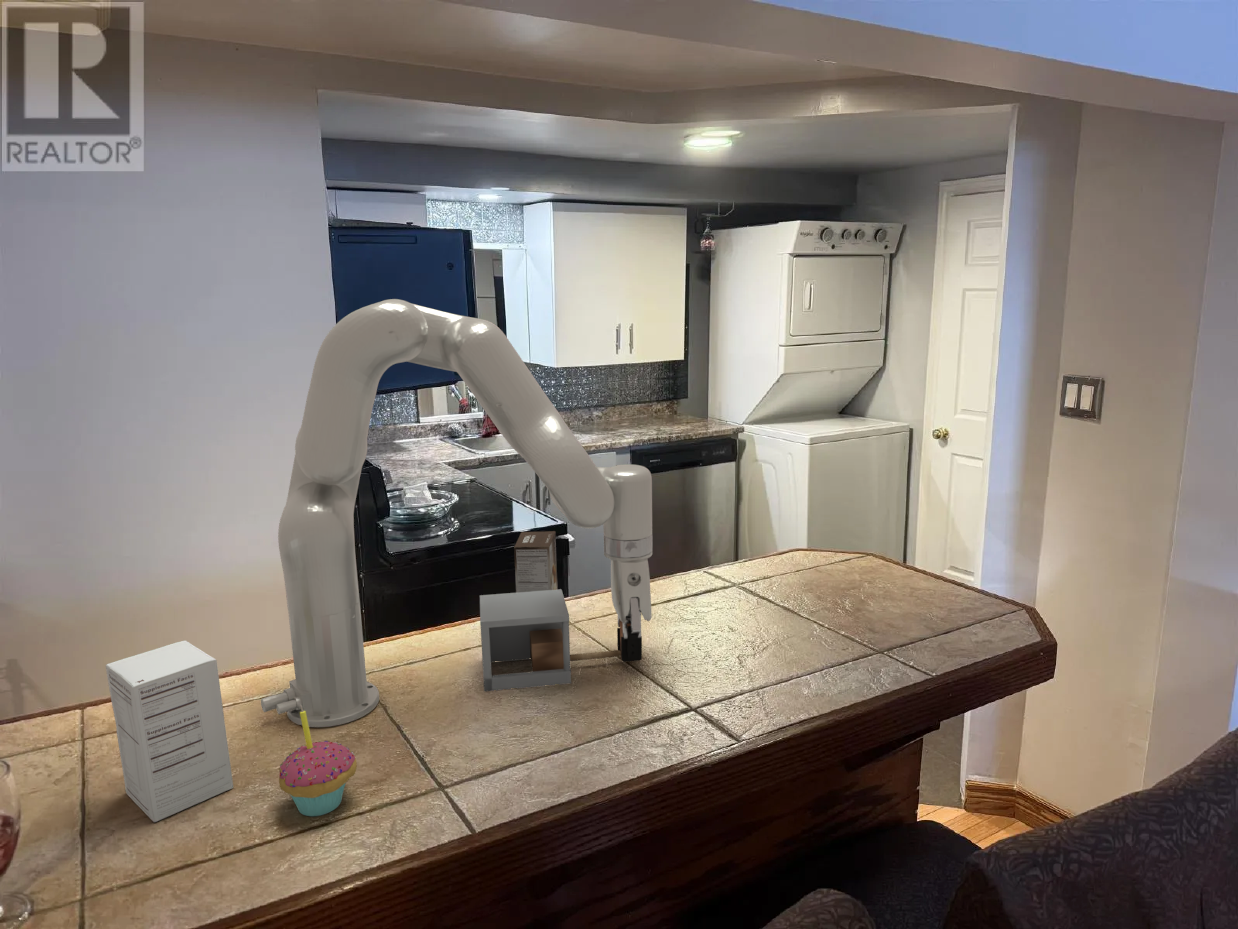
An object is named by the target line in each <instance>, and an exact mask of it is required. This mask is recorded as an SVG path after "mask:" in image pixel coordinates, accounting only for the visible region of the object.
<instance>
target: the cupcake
mask: <svg viewBox="0 0 1238 929" xmlns="http://www.w3.org/2000/svg"><path fill="white" fill-rule="evenodd" d="M300 708H301V712H300V717H301V722H302V725H301V726H302V730H303V731H302V732H303V735H304V740H305V744H304V745H301V746H300V747H297V748H296V749H295V750H294V751H292V753H291V752H290V753H289V754H288V756H286V757H285V758H284V759H283V761H282V763H281V764H279V774H278V775H279V776H278V784H279V785H278V786H279V788H280V790H281V791H282V792H284V793H286V794H288V795H289V796H290V797H291V798H292V800H293V802H294V804H295V805H296V807H297V810H298V812H299V813H300V814H302V815H303V816H305V817H306V816H307V817H320V816H323V815H327V814H329V813H330V812H333V811H335V809H337V808H338V807H339V806H340V804H341V803H342V799H343V794H344V790H345V787H346V784H347V782H348V781H349V779H350V778H352V777H353V776H355V774H356V771H357V766H358V761H357V758H356V756H355V752H354V751H352V750H350V748H349V747H348V746H344V745H342V743H338V742H337V741H330V740H324V741H319V740H318V741H314V742H313V741H312V736H311V730H310V727H309V725H308V720H307V715H306V711H303V708H302V705H300Z"/></svg>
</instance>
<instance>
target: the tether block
mask: <svg viewBox="0 0 1238 929" xmlns="http://www.w3.org/2000/svg"><path fill="white" fill-rule="evenodd" d="M628 626H631V624H627V628H628ZM619 628H620V651H619V650H618V649H617V650H615V649H614V650H606V651H595V652H594V651H593V652H584V653H576V654H575V653H573V654H570V662H577V661H586V660H597V659H599V660H600V659H607V658H618V657H621V637H623V622H622V621H621V622H620V627H619ZM529 632H530V653H531V659H530V665H531V669H532V671H531V672H534V671H545V670H556V669H564V661H563V634H562V630H561V628H560V629H549V630H537V631H529ZM620 660H621V661H622V659H621V658H620ZM634 662H635V661H631V662H630V663H634Z"/></svg>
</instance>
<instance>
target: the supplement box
mask: <svg viewBox="0 0 1238 929" xmlns="http://www.w3.org/2000/svg"><path fill="white" fill-rule="evenodd" d="M217 661H218V660H217V659H216V658H215V657H213V656H211V655H209V654H207V652H205V651H203V650H201V649H200V648H198V647H197V646H195V645H193V644H192V643H190V642H189V641H188V640H182V641H177V642H174V643H171V644H167V645H165V646H164V645H163V646H161V647H157V648H154V649H151V650H148V651H145V652H141V653H138V654H136V655H132V656H129V657H125V658H122V659H119V660H116V661H113V662H110V663H109V662H108V663H107V664H105V671H106V676H107V682H108V687H109V693H110V700H111V706H112V711H113V716H114V722H115V726H116V736H117V743H118V748H119V756H120V762H121V766H122V767H121V768H122V774H123V782H124V787H125V792H126V795H127V796H128V797H129V798H130V799H131V800H132V801H133V802H134V803H135V805H137V806H138V807H139V809H141V810H142V811H143V812H144V813H145V815H146V816H147V817H148V818H149V819H150V820H151V821H152V822H153V823H157V822H158V821H161V820H163V819H166V818H168V817H170V816H172V815H175V814H176V813H180V812H181V811H185V810H186V809H189V808H190V807H192V806H195V805H198V804H200V803H202V802H204V801H207V800H208V799H211V798H213V797H215V796H217V795H220V794H223V793H224V792H226V791H229V790H231V789H233V788H234V781H233V775H232V766H231V759H230V754H229V752H230V751H229V745H228V737H227V730H226V728H227V727H226V721H225V714H224V708H223V707H224V706H223V701H222V700H223V699H222V698H223V697H222V692H221V685H220V676H219V670H218V668H219V667H218V662H217Z"/></svg>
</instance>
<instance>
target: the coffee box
mask: <svg viewBox="0 0 1238 929" xmlns="http://www.w3.org/2000/svg"><path fill="white" fill-rule="evenodd" d="M556 540H557V539H556V531H555V530H553V531H550V530H549V531H523V532H520V534H519V537H518V538H517V540H516V543H515V544H514V547H513V553H514V555H513V556H514V570H515V572H514V573H515V574H514V575H515V593H519V592H532V591H545V590H558V572H557V570H558V569H557V547H556V546H557V543H556V542H557V541H556Z"/></svg>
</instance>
